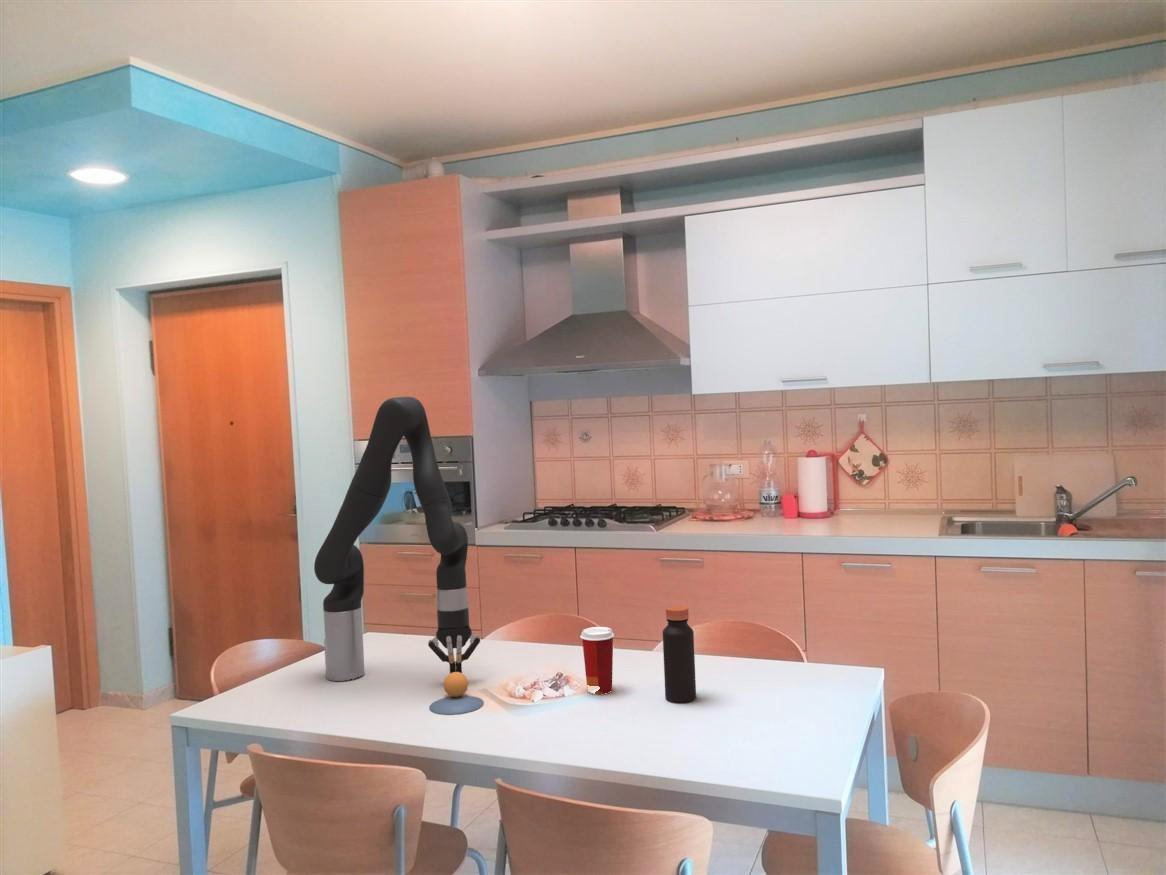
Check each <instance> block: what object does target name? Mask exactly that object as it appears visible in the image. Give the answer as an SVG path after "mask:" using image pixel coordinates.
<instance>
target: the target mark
mask: <svg viewBox="0 0 1166 875" xmlns="http://www.w3.org/2000/svg"><path fill="white" fill-rule="evenodd" d="M484 703H485V702H484V700H483V699H482V698H480V697H478V696H473V695H462V696H460V697H451V696H448V697H444V698H440V699H437V700H435V701H432V703H431V704H430V705H429V708H428V709H429V711H430V710H431V711H430V712H432V713H434V714H437V715H443V714H444V715H443V716H445V715H446V716H455V714H457V715H463V714H467V713H468V712H469V713H472V712H475V711H477V710H479V709H480V707H481V708H482V707H483V706H484Z"/></svg>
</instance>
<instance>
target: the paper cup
mask: <svg viewBox="0 0 1166 875" xmlns="http://www.w3.org/2000/svg"><path fill="white" fill-rule="evenodd" d="M614 637H615V634H614V633H613V630H612V628H610V627H606V626H593V627H592V626H591V627H588V628H585V629H582V632H581V634H580V636H579V638H581V640H582V650H583V660H584V671H585V679H586V681H585V682H586V686H587V685H589V686H599V687H600V689H599V690H598V691H596V692H595V694H604V695H606V694H605V693H608V692H610V691H612V692H613V663H614V662H613V659H614V655H613V654H614ZM610 693H611V692H610ZM608 694H609V693H608Z"/></svg>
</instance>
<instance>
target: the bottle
mask: <svg viewBox="0 0 1166 875" xmlns="http://www.w3.org/2000/svg"><path fill="white" fill-rule="evenodd" d="M665 616H666V617H665V618H666V622H667V625H666V626H665V627H664V628H663V629H662V646H663V647H662V650H663V674H664V675H663V676H664V692H665V693H664V696H665V697H664V698H665V699H666V700H667V701H668V702H671V703H674V704H686V703H687V704H688V703H690V702H693V701H695V700H696V698H697V686H696V685H697V683H696V682H697V681H696V667H695V666H696V665H695V663H696V659H695V656H696V655H695V636H694V628H692V627H691V626H690V625H689V624H688V621H689V607H687V606H684V605H670V606H668V607H666V608H665Z"/></svg>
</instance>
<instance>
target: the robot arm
mask: <svg viewBox="0 0 1166 875" xmlns="http://www.w3.org/2000/svg"><path fill="white" fill-rule="evenodd" d="M403 437H404V439H405V440H406V442H407V443H406V444H407V445H408V448H409V451H410V454H411V460H412V461H411V462H412V479H413V486H414V490H415V492H416V496H417V498H418V502H419V505H420V507H421V509H422V511H423V514H424V519H425V526H426V531H427V537H428V540H429V542H430V546H432V548H433V550H435V552H436V553H438V554H440V562H439V564H438V566H437V567H436V570H435V574H436V604H435V605H436V606H435V607H436V618H437V630H436V632H435V633H436V634H435V636H434V637H433V638H432V639H429V640H428V642H427V645H428V647H429V649H431V651H432V652H434V654H435V655H436V656H437V658H439V659H440V660H441V662H443V663H444V662H446V663H448V664H449V674H450V673H453V672H460V673H462V674H463V667H462V666H463V665H462V664H463V662H464V661H468V659H469V658H470V657H471V656H472V654H473V653H474V651H475V649H476V648H477V647H478V646H479V644H480V643H481V637H480V636H479V635H475V634H474V633H472V632H473V630H472V629H471V626H470V615H469V614H470V613H469V612H470V611H469V595H468V590H467V577H466V576H467V574H466V566H467V558H468V557H467V556H468V546H469V537H468V533H467V529H465V526H463V524H461V523H459V522H458V521H453V519H452V518H453V517H452V514H451V510H452V507H453V506H452V505H453V504H452V501H451V498H450V494H449V492H448V490H447V487H446V484H445V482H444V480H443V476H442V473H441V470H440V467H439V464H438V460H437V456H436V452H435V449H434V448H435V447H434V445H433V439H432V435H431V430H430V425H429V421H428V417H427V413H426V410H425V407H424V405H423V403H422V402H421V401H420V400H419V399H418V398H415V397H413V396H399V397H392V398H388V399H386V400H384V402H382V403H381V404H380V406H379V408H378V409H377V412H376V414H375V417H374V421H373V424H372V428H371V432H370V435H369V437H368V442H367V445H366V446H365V450H364V452H363V453H362V456H361V458H360V461H359V464H358V466H357V469H356V470H355V473H354V475H353V476H352V479H351V482H350V484H349V486H348V489H347V492H346V494H345V496H344V499H343V501H342V504H341V506H340V508H339V511H338V513H337V515H336V518H335V520H334V521H333V525H332V526H331V529H330V530H329V531H328V535H327V536H326V537H325V539H324V541H323V543H322V544H321V546H320V548H319V550H318V552H317V554H316V557H315V560H314V565H313V566H314V574H315V577H316V578H317V580H318V581H319V582H320V583H321V584H324V585H333V587H331V588H332V589H331V590H330V592H329V593H328V595H326V596H325V597H324V599H323V602H322V606H323V609H322V610H323V623H324V624H323V625H324V626H323V627H324V639H323V640H324V641H323V642H324V644H323V645H324V661H325V662H324V663H325V675H326V679H327V680H329V681H334V682H341V681H342V682H344V681H345V680H346V681H351V680H350V679H352V680H356V679H358V678H357V677H359V678H361V677H363V676H365V674H364V673H366V670H365V653H364V652H365V651H364V633H363V632H364V630H363V617H362V615H363V614H362V612H363V611H362V599H363V597H364V590H365V568H364V567H365V564H364V558H363V555H362V552H361V550H360V549H359V548H358V546H357V545H355V542H356V541H357V539H358V538H359V537H360V535H361V534H362V533H363V532H364V530H366V528H367V527H368V526H369V525H370V524H371V523H372V521H373V520H375V518H376V517H377V516H378V514H379V513H380V511H381V509H382V508H383V506H384V503H385V501H386V499H387V497H388V494H389V493H390V492H389V491H390V490H391V485H392V462H393V458H394V455H395V452H396V451H397V448H398V446H399V444H400V442H401V440H402V439H403ZM468 641H469V643H470V644H469V646H468V647H467V648H466V650H465V651H464V653H462V650H463V649H462V648H463V647H465V646H466V643H467V642H468ZM440 643H441V645H442V646H443V647H444V648H445V649H447V654H446V653H445V652H444V651H443V650H442V649H441V648H440V646H439V645H440ZM454 649H456V650H455V651H456V653H454ZM454 654H456V655H454ZM455 657H456V658H455ZM362 675H363V676H362ZM360 676H361V677H360ZM355 678H356V679H355Z"/></svg>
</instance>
